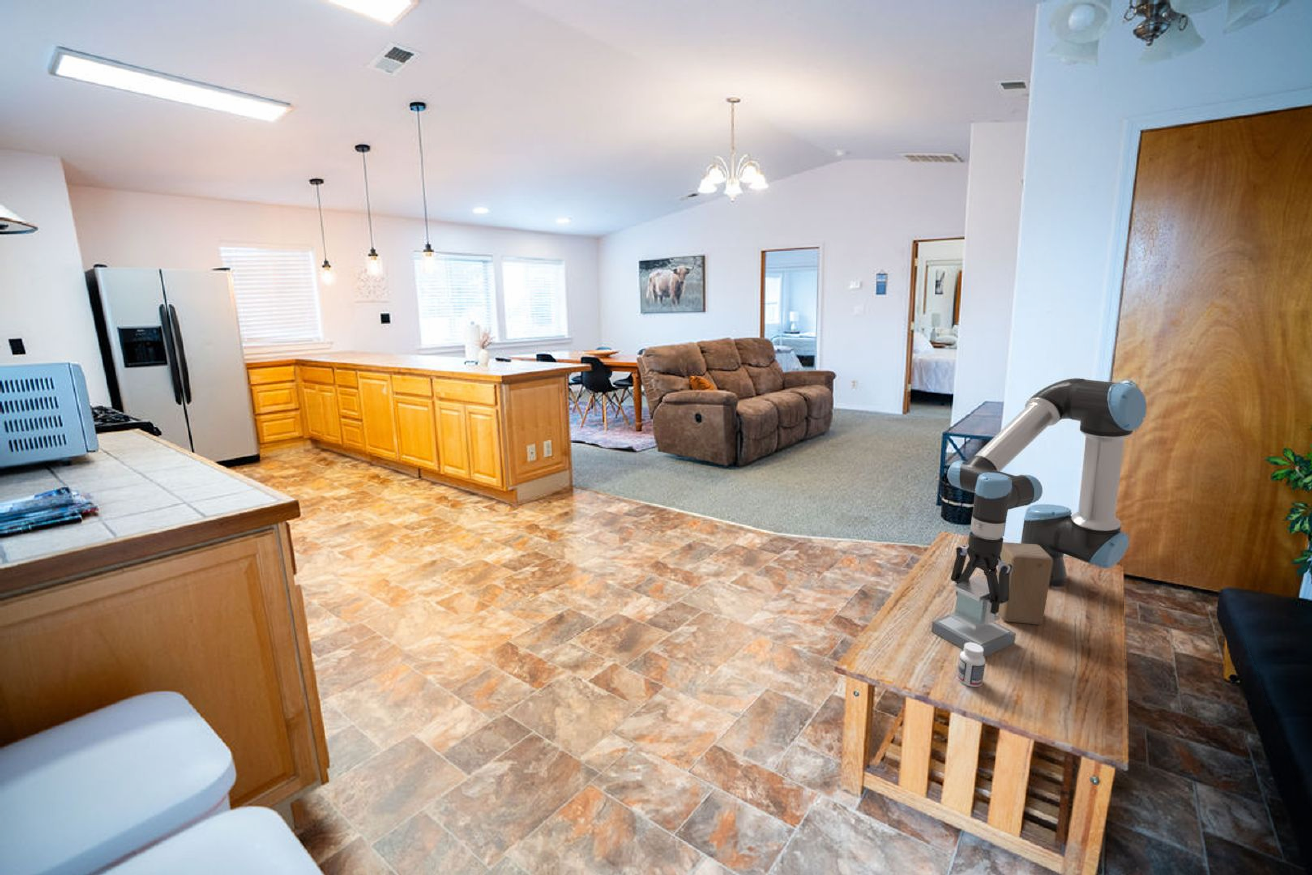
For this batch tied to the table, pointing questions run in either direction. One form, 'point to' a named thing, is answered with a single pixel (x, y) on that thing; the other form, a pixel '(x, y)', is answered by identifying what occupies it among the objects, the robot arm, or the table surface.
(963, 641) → the stand
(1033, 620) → the wooden block
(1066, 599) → the table surface
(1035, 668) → the table surface
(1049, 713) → the table surface
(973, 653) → the pill bottle
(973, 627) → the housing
